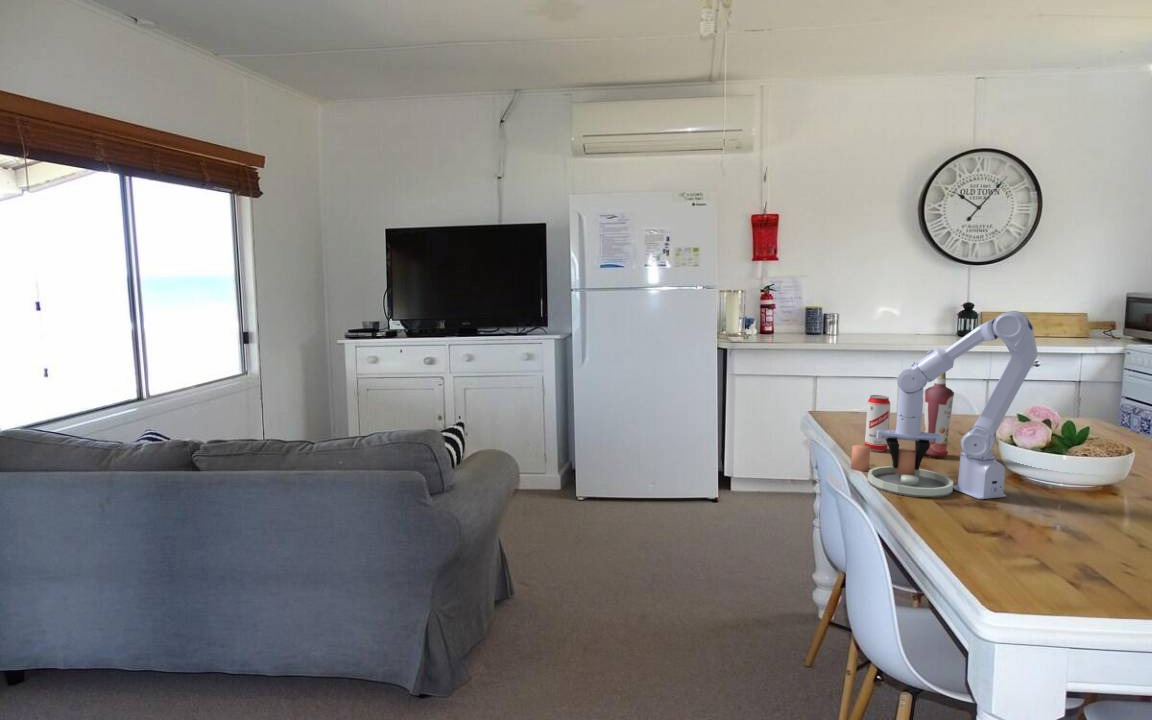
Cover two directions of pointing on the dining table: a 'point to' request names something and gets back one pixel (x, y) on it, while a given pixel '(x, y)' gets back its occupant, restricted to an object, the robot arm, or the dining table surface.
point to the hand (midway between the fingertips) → (905, 468)
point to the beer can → (877, 422)
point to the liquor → (938, 415)
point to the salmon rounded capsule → (906, 462)
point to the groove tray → (921, 483)
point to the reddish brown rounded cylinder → (860, 457)
